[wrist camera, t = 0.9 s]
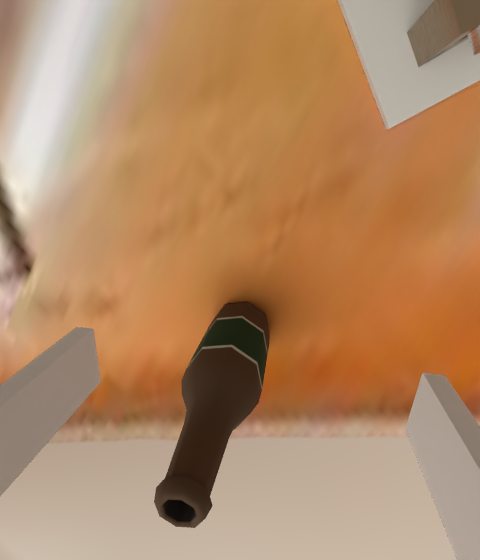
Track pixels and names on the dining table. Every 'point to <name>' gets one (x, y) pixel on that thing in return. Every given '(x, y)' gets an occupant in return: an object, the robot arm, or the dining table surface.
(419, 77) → the base board
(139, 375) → the dining table surface
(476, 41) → the disc-ended rod
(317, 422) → the dining table surface
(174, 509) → the beer bottle
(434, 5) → the eye bracket
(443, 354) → the dining table surface
